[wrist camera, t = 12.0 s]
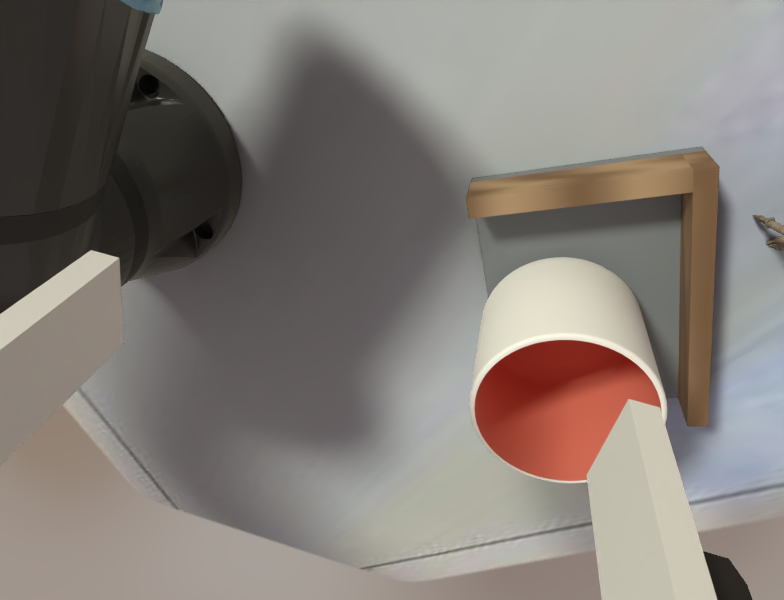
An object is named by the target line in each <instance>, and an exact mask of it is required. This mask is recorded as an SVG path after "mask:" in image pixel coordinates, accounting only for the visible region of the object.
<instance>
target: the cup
mask: <svg viewBox="0 0 784 600" xmlns="http://www.w3.org/2000/svg"><path fill="white" fill-rule="evenodd" d="M628 399H631V400H635V401H638V402H642V403H645V404H649V405H653V406H656V407H660V410H661V413H662V416H663V420H664V423H665V424H666V420H667V400H666V396H665V392H664V389H663V385H662V382H661V378H660V375H659V372H658V368H657V365H656V361H655V358H654V354H653V351H652V348H651V344H650V341H649V337H648V334H647V331H646V327H645V324H644V320H643V317H642V313H641V310H640V307H639V304H638V302H637V300H636V298H635V296H634V294H633V293H632V291H631V290H630V288H629V287H628V286H627V285H626V284H625V283H624V282H623V281H622V280H621V279H620V278H619V277H618V276H617V275H615V274H614V273H613V272H611V271H610V270H608V269H606V268H604V267H602V266H601V265H598V264H596V263H593V262H590V261H587V260H583V259H578V258H570V257H554V258H546V259H541V260H537V261H534V262H531V263H528V264H526V265H524V266H521V267H519V268H518V269H516V270H514V271H513V272H511V273H510V274H509V275H507V276H506V277H505V278H504V279H503V280H502V281H501V282H500V283H499V284H498V285H497V286H496V287H495V288H494V290H493V291H492V293H491V294H490V296H489V298H488V300H487V302H486V305H485V307H484V311H483V315H482V321H481V327H480V334H479V340H478V347H477V353H476V360H475V366H474V373H473V379H472V386H471V393H470V399H469V410H470V417H471V421H472V424H473V427H474V430H475V432H476V434H477V436H478V437H479V439H480V440H481V442H482V443H483V445H484V446H485V447H486V448H487V449H488V450H489V451H490V453H491V454H493V455H494V456H495V457H496V458H497V459H498V460H500V461H501V462H502V463H504V464H505V465H507V466H509V467H511V468H512V469H514V470H516V471H518V472H520V473H522V474H525V475H527V476H530V477H533V478H536V479H540V480H545V481H550V482H556V483H586V482H587V473H588V472H589V470H590V468H591V466H592V464H593V463H594V461H595V459H596V457H597V455H598V453H599V452H600V450H601V448H602V446H603V444H604V443H605V441H606V439H607V437H608V435H609V433H610V432H611V430H612V428H613V426H614V424H615V423H616V421H617V419H618V417H619V415H620V413H621V412H622V410H623V408H624V406H625V404H626V403H627V401H628Z"/></svg>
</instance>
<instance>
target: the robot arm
mask: <svg viewBox="0 0 784 600" xmlns="http://www.w3.org/2000/svg"><path fill="white" fill-rule="evenodd" d="M162 3H163V0H0V466H1V465H2V464H3V463H4V462H5V461H6V460H7V459H8V458H9V457H10V456H11V455H12V454H13V453H14V452H15V451H16V450H17V449H18V448H19V447H20V446H21V445H22V444H23V443H24V442H25V441H26V440H27V439H28V438H29V437H30V436H31V435H32V434H33V433H34V432H35V431H36V430H37V429H38V428H39V427H40V426H41V425H42V424H43V423H44V422H45V421H46V420H47V419H48V418H49V417H50V416H51V415H52V414H53V413H54V412H55V411H56V410H58V408H59V407H61V406H62V405H63V404H64V403H65V402H66V401H67V400H68V399H69V398H70V397H71V396H72V395H73V394H74V393H75V392H76V391H77V390H78V389H79V388H80V387H81V386H82V385H83V384H84V383H85V382H86V381H87V380H88V379H89V378H90V377H91V376H92V375H93V374H94V373H95V372H96V371H97V370H98V369H99V368H100V367H101V366H102V365H103V364H104V363H105V362H106V361H107V360H108V359H109V358H110V357H111V356H112V355H113V354H114V353H115V352H116V351H117V350H118V349H119V348H120V347H121V346H122V345H123V344H124V337H123V318H122V299H121V286H123V285H124V284H125V283H127V282H128V281H132V280H136V279H139V278H143V277H147V276H151V275H155V274H159V273H163V272H167V271H171V270H175V269H178V268H181V267H184V266H186V265H188V264H190V263H192V262H194V261H195V260H197V259H198V258H200V257H201V256H203V255H204V254H205V253H206V252H207V251H208V250H210V249H211V248H212V247H213V246H214V245H215V244H216V243H218V242H219V241H220V240H221V239H222V237H223V236H224V235H225V234H226V233H227V231H228V230H229V228H230V227H231V225H232V223H233V221H234V219H235V216H236V214H237V211H238V207H239V203H240V197H241V188H242V177H241V167H240V161H239V156H238V152H237V149H236V145H235V142H234V139H233V137H232V134H231V132H230V130H229V127H228V125H227V124H226V122H225V120H224V118H223V116H222V114H221V113H220V111H219V110H218V108H217V107H216V105H215V104H214V102H213V101H212V100H211V98H210V97H209V96H208V95H207V93H206V92H205V91H204V90H203V89H202V88H201V87H200V86H199V85H198V84H197V82H196V81H194V80H193V79H192V78H191V77H190V76H189V75H188V74H187V73H185V72H184V71H183V70H182V69H180V68H179V67H177V66H176V65H175V64H173V63H172V62H170V61H168V60H167V59H165V58H163V57H161V56H159V55H157V54H155V53H153V52H150V51H148V50H145V46H146V43H147V39H148V36H149V32H150V29H151V26H152V22H153V19H154V15H155V14H159V13H160V10H161V8H162ZM587 483H588V491H589V499H590V507H591V516H592V524H593V532H594V540H595V548H596V556H597V565H598V573H599V581H600V589H601V597H602V600H752V597H751V594H750V592H749V589H748V586H747V584H746V583H745V581H744V580H743V578H742V577H741V576H740V574H739V573H738V571H737V570H736V569H735V567H734V566H733V565H732V563H731V561H730V560H729V559H728V558H725V557H721V556H717V555H714V554H711V553H707V552H704V551H702V547H701V543H700V540H699V537H698V533H697V530H696V527H695V523H694V520H693V517H692V513H691V510H690V507H689V503H688V500H687V497H686V493H685V490H684V487H683V483H682V480H681V477H680V473H679V470H678V467H677V463H676V460H675V457H674V453H673V450H672V447H671V443H670V440H669V436H668V433H667V430H666V426H665V423H664V420H663V416H662V413H661V410H660V407H656V406H653V405H649V404H645V403H642V402H638V401H635V400H631V399H628V401H627V403H626V404H625V406H624V408H623V410H622V412H621V413H620V415H619V417H618V419H617V421H616V423H615V424H614V426H613V428H612V430H611V432H610V433H609V435H608V437H607V439H606V441H605V443H604V444H603V446H602V448H601V450H600V452H599V453H598V455H597V457H596V459H595V461H594V463H593V464H592V466H591V468H590V470H589V472H588V473H587Z"/></svg>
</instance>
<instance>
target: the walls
mask: <svg viewBox="0 0 784 600" xmlns="http://www.w3.org/2000/svg"><path fill="white" fill-rule="evenodd" d="M718 188H719V166H718V165H717V163H716V162H715V161H714V160H713V159H712V158H711V156H710V155H709V154H708V153H707V152H706V151H698V152H691V153H684V154H676V155H669V156H662V157H654V158H647V159H640V160H632V161H625V162H618V163H610V164H603V165H596V166H588V167H581V168H573V169H566V170H559V171H551V172H544V173H537V174H529V175H522V176H515V177H507V178H500V179H493V180H485V181H478V182H471V184H470V187H469V191H468V194H467V197H466V203H467V209H468V216H469V219H473V218H481V217H490V216H498V215H506V214H515V213H523V212H532V211H540V210H548V209H557V208H565V207H574V206H582V205H591V204H599V203H607V202H616V201H624V200H633V199H641V198H649V197H658V196H666V195H675V194H681V230H680V300H679V371H678V398H679V401H680V405H681V408H682V411H683V414H684V417H685V420H686V423H687V426H708V417H709V394H710V371H711V349H712V326H713V303H714V280H715V257H716V234H717V211H718Z"/></svg>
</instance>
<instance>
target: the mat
mask: <svg viewBox="0 0 784 600" xmlns="http://www.w3.org/2000/svg"><path fill="white" fill-rule="evenodd" d="M698 151H705V150H704V148H703V147H696V148H689V149H681V150H674V151H667V152H660V153H652V154H645V155H638V156H631V157H623V158H616V159H609V160H601V161H594V162H587V163H580V164H572V165H565V166H558V167H551V168H543V169H536V170H529V171H522V172H514V173H507V174H500V175H493V176H485V177H478V178H472V180H471V182H478V181H485V180H493V179H500V178H507V177H515V176H522V175H529V174H537V173H544V172H551V171H559V170H566V169H573V168H581V167H588V166H596V165H603V164H610V163H618V162H625V161H632V160H640V159H647V158H654V157H662V156H669V155H676V154H684V153H691V152H698ZM476 220H477V226H478V233H479V239H480V246H481V253H482V259H483V266H484V273H485V279H486V286H487V292H488V298H489V296H490V294H491V293H492V291H493V290H494V288H495V287H496V286H497V285H498V284H499V283H500V282H501V281H502V280H503V279H504V278H505V277H506V276H507V275H509V274H510V273H511V272H513V271H514V270H516V269H518V268H519V267H521V266H524V265H526V264H528V263H531V262H534V261H537V260H541V259H546V258H554V257H570V258H578V259H583V260H587V261H590V262H593V263H596V264H598V265H601V266H602V267H604V268H606V269H608V270H610V271H611V272H613V273H614V274H615V275H617V276H618V277H619V278H620V279H621V280H622V281H623V282H624V283H625V284H626V285H627V286H628V287H629V288H630V290H631V291H632V293H633V294H634V296H635V298H636V300H637V302H638V304H639V307H640V310H641V313H642V317H643V320H644V324H645V327H646V331H647V334H648V337H649V341H650V344H651V348H652V351H653V354H654V358H655V361H656V365H657V368H658V372H659V375H660V378H661V382H662V385H663V389H664V392H665V396H666V397H678V371H679V300H680V230H681V194H675V195H666V196H658V197H649V198H641V199H633V200H624V201H616V202H607V203H599V204H591V205H582V206H574V207H565V208H557V209H548V210H540V211H532V212H523V213H515V214H506V215H498V216H490V217H481V218H476Z"/></svg>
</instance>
